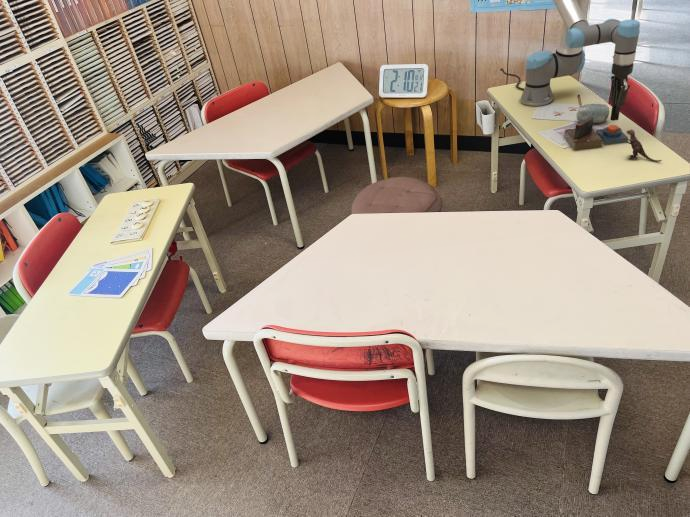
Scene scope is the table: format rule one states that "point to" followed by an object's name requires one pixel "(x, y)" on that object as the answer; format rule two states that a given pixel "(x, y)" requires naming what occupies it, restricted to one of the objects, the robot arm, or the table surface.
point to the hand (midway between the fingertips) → (614, 119)
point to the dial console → (583, 140)
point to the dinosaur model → (637, 147)
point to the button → (612, 128)
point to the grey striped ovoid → (593, 112)
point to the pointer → (583, 127)
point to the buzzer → (612, 136)
